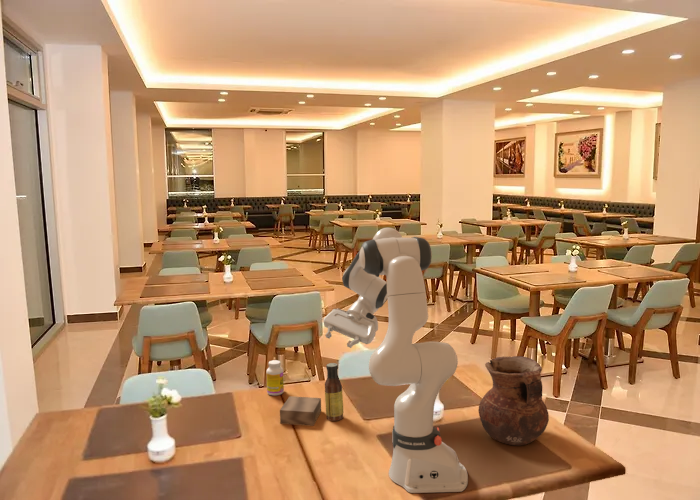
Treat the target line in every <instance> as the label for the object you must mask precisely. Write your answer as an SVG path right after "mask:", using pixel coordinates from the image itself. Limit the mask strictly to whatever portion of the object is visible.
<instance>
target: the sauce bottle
mask: <svg viewBox="0 0 700 500" xmlns="http://www.w3.org/2000/svg"><path fill="white" fill-rule="evenodd" d="M325 368H326V374H327V375H326V380H325V382H324V400H325V401H324V402H325V415H326V419H327V420H329V421H331V422H337V421H340V420H342V419H343V418H344V397H343V386H342V383H341V380H340V378H339V373H338V372H339V370H338V368H339V365H338V363H335V362H330V363H327V364H326V367H325Z"/></svg>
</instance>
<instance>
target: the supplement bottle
mask: <svg viewBox="0 0 700 500" xmlns="http://www.w3.org/2000/svg"><path fill="white" fill-rule="evenodd" d="M265 374H266V393H267V395H270V396H280V395H282V394H283V393H284V392H285V391H284V387H285V385H284V369H283V367H281V361H280V360H277V359H274V360H273V359H272V360H269V361H268V367H267V369H266V373H265Z"/></svg>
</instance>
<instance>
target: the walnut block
mask: <svg viewBox="0 0 700 500" xmlns="http://www.w3.org/2000/svg"><path fill="white" fill-rule="evenodd" d="M321 413H322V398H320V397H310V396H309V397H307V396H292V395H291V396H288V398H287V399H286V401H285V402H284V403H283V405H282V406H281V407H280V410H279V416H280V417H279V419H280V420H279V421H280V424H281V425H282V424H283V425H297V426H299V425H300V426H310V427H311V426H312V427H313V426H315V424H316V421H317V420H318V417H319V416H320V415H321Z"/></svg>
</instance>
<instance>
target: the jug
mask: <svg viewBox="0 0 700 500" xmlns="http://www.w3.org/2000/svg"><path fill="white" fill-rule="evenodd" d="M489 361H490V362H489ZM489 361H488V362H487V361H486V362H485V363H484V365H485V367H486V370H487V372H489V374H490V376H491V380H492V388H491V389H489V390H488V391H487V392H486V393H485V395H483V396H482V398H481V400H480V403H479V405H478V416H479V420H480V422H481V424H482V428H483V429H484V431H485V432H486V433H487V434H488V435H489V436H490V437H491V438H492V439H493V440H495V441H497V442H500V443H501V444H506V445H508V446H518V447H519V446H526V445H529V444H531V443H532V442H534V441H535V440H537V439H538V438H539V437H540V436H541V435H543V433H544V432H545V430H546V429H547V426H548V424H549V422H550V421H549V419H550V417H549V411H548V408H547V405H546V404H545V402H544V400H543V382H542V375H541V373H542V370H543V368H542V366H540V364H539V363H538V362H537V361H536V360H534V359H532V358H530V357H526V356H522V355H514V356H499V357H495V358H493V359H490V360H489Z"/></svg>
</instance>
